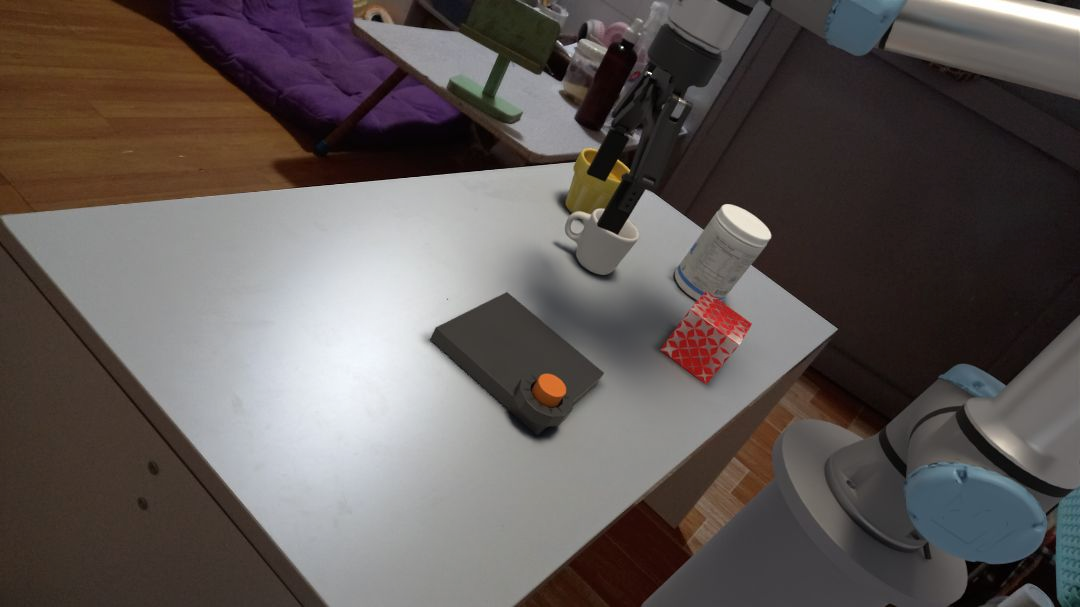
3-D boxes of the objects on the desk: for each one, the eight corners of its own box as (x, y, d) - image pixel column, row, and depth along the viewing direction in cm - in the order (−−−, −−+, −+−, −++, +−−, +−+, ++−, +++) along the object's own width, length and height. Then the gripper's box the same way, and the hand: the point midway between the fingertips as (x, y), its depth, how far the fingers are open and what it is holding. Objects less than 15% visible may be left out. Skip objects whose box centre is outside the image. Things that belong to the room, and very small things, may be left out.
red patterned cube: (677, 329, 97) (706, 290, 93) (720, 362, 96) (752, 323, 91) (659, 349, 91) (690, 309, 87) (706, 384, 89) (739, 345, 85)
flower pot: (614, 235, 113) (642, 188, 108) (563, 219, 109) (590, 170, 104) (599, 203, 121) (624, 158, 116) (550, 187, 116) (574, 140, 111)
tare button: (564, 399, 69) (571, 388, 68) (549, 412, 66) (556, 401, 65) (541, 380, 70) (548, 369, 69) (526, 392, 67) (533, 380, 66)
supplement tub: (678, 263, 116) (725, 196, 108) (724, 293, 115) (775, 227, 107) (667, 284, 108) (717, 212, 100) (715, 315, 107) (770, 246, 99)
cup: (548, 253, 98) (571, 211, 93) (559, 233, 104) (582, 192, 100) (610, 288, 98) (636, 247, 94) (617, 265, 105) (642, 226, 100)
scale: (603, 389, 78) (617, 369, 76) (539, 447, 66) (554, 425, 64) (501, 302, 83) (512, 282, 81) (423, 342, 71) (434, 319, 69)
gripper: (645, -4, 78) (567, 148, 89) (690, 57, 58) (582, 243, 69) (698, 23, 80) (615, 168, 91) (758, 91, 60) (643, 266, 71)
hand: (601, 201), depth 80 cm, fingers open, 13 cm apart
